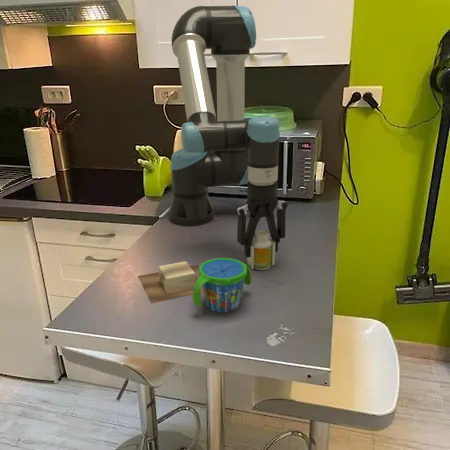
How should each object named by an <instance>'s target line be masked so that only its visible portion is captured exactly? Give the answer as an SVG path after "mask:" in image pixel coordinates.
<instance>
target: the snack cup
mask: <svg viewBox="0 0 450 450" xmlns="http://www.w3.org/2000/svg"><path fill="white" fill-rule="evenodd" d="M199 275H200V276H199V278H198V279H197V281H196V283H195V287H194V291H193V295H192V300H193V301H192V302H193V303H194V305H196V306H197V307H198V308H199V307H200V308H202V301H201V298H202V297H201V294H202V293H201V291H200V289H201V288H202V286H203V290H204V292H203V293H204V294H203V295H204V299H205V303H206V304H205V305H206V307H207V308H208V310H209V309H210V310H211V311H214V312H216V313H230V312H232V311H235V310H237V309H239V307H240V306H241V302H242V297H243V296H242V295H243V290H244V284H246V285H247V286H250V285H251V284H252V273H251V268H250V267H249V266H248V265H247V263H244V262H242V261H240V260H237V259H235V258H229V257H216V258H211V259H209V260H208V259H207V260H205V261H204V262H203V263H201V264H200V265H199Z"/></svg>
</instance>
